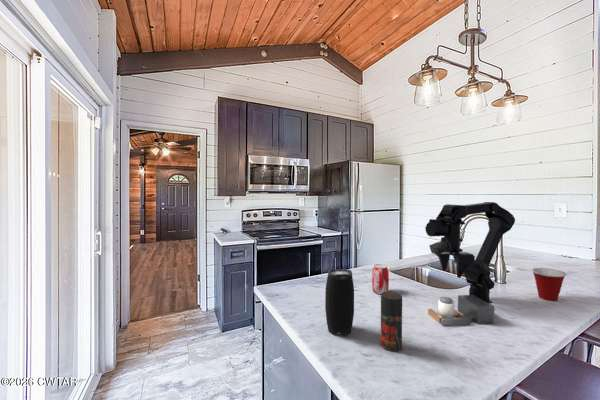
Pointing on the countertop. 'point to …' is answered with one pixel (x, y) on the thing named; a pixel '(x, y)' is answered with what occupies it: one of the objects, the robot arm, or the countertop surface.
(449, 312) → the white rounded cylinder
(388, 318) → the deodorant
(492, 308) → the grey angular piece
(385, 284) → the soda can
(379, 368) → the countertop surface
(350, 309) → the portable speaker
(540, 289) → the plastic cup
